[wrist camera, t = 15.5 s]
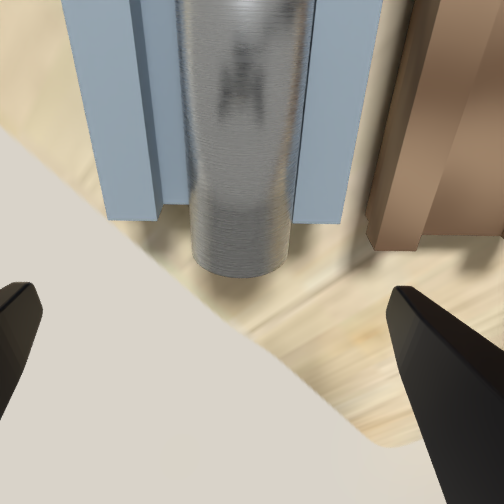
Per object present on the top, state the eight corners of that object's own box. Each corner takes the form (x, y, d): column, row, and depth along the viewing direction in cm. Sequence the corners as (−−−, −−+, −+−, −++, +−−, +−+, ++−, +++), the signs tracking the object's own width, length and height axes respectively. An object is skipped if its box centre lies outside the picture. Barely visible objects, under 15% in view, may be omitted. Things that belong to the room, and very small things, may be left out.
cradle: (80, -169, 12) (10, -237, 9) (370, -153, 13) (423, -212, 9) (133, 175, 19) (108, 220, 15) (321, 179, 19) (339, 224, 16)
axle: (141, -281, 9) (168, -425, 6) (297, -244, 10) (390, -347, 7) (183, 231, 17) (204, 286, 14) (267, 218, 18) (304, 267, 15)
